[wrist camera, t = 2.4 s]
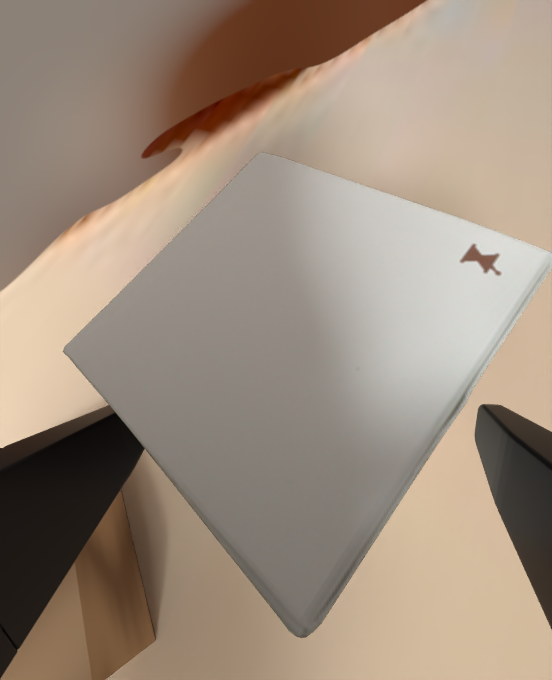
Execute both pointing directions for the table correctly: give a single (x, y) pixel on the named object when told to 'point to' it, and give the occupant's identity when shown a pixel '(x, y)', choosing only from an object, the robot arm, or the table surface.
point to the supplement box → (305, 364)
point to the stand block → (91, 612)
